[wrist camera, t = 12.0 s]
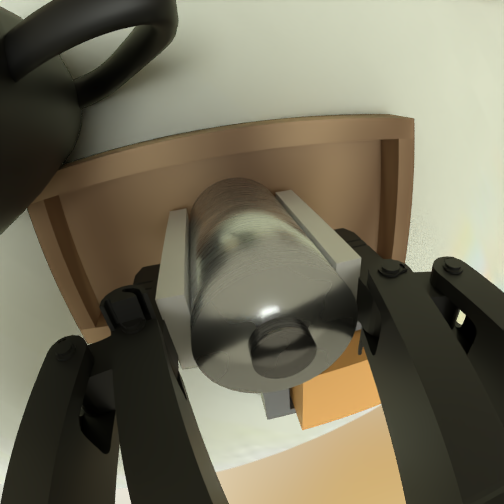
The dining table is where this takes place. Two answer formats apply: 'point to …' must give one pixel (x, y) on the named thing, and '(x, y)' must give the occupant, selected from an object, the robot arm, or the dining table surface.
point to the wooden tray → (204, 175)
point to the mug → (63, 83)
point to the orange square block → (337, 389)
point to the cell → (261, 293)
